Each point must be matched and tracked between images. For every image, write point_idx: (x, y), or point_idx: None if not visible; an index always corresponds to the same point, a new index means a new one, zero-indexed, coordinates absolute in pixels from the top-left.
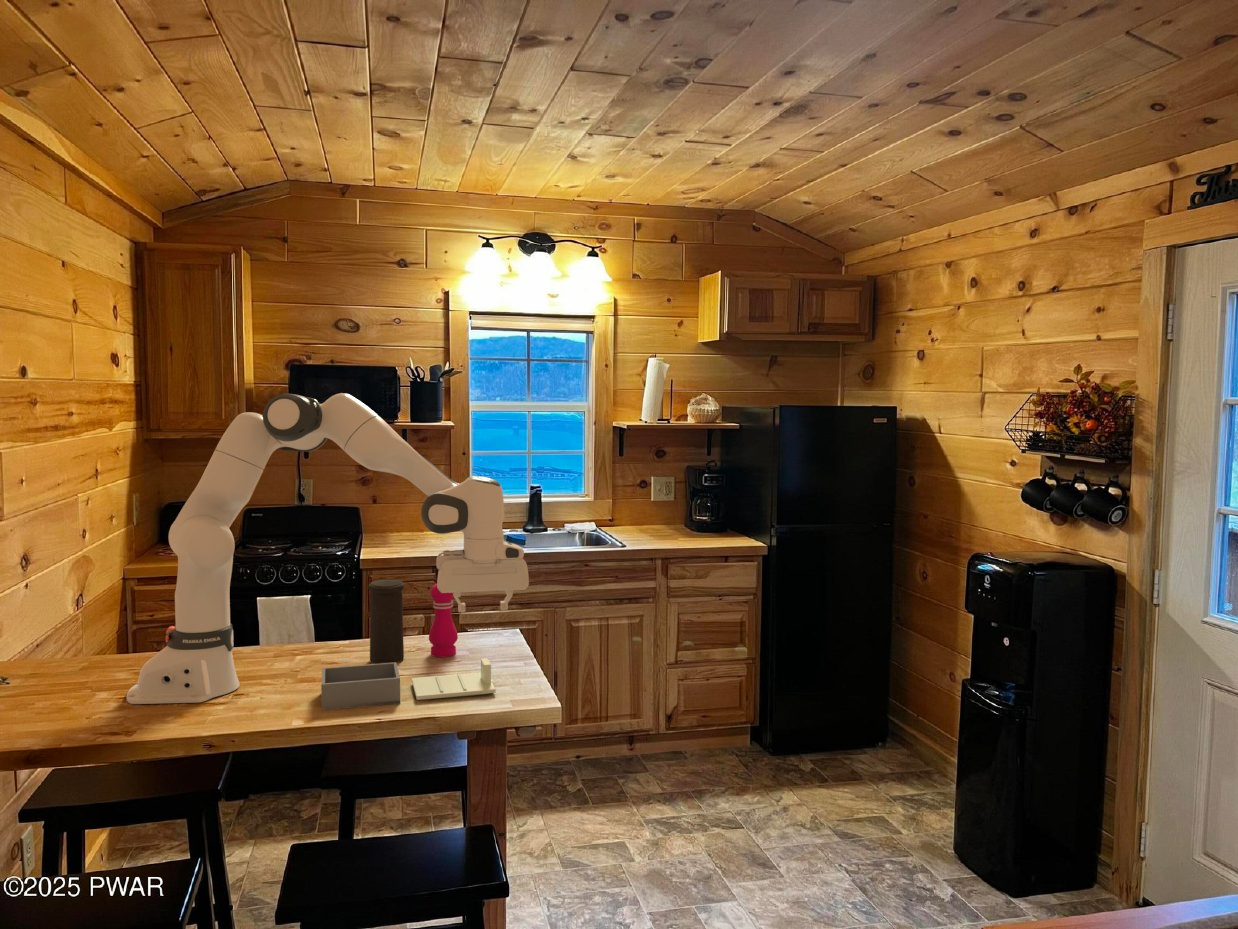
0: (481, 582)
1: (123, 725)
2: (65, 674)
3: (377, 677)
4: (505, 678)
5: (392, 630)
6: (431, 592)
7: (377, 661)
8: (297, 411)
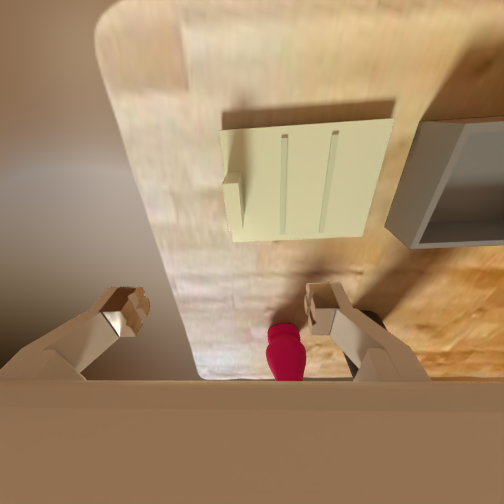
0: (195, 499)
1: None
2: None
3: (432, 229)
4: (202, 229)
5: None
6: None
7: (376, 316)
8: None
